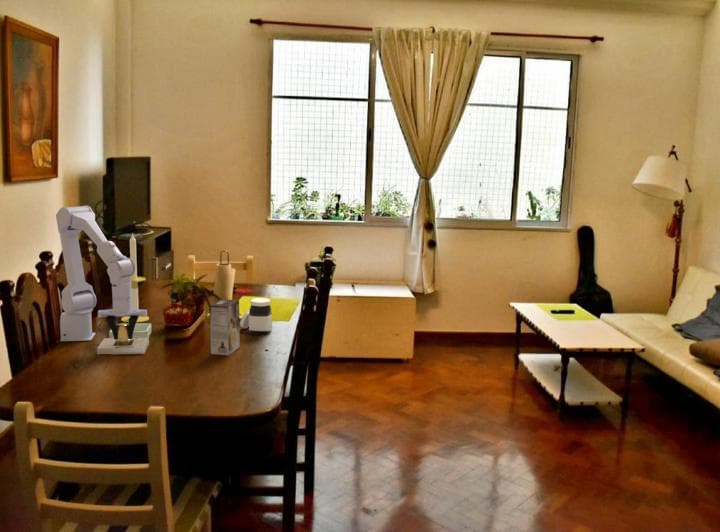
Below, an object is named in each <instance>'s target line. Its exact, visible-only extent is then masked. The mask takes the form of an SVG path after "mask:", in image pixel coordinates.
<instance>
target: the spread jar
mask: <svg viewBox="0 0 720 532" xmlns="http://www.w3.org/2000/svg"><path fill="white" fill-rule="evenodd" d="M272 312H273V310H272V306H271V299H269V298H266V297H265V298H264V297H256V298H252V299H251V300H250V307H249V310H247V311H245V313H243V315H242V317H241V319H240V321H239V327H241V328H243V329H244V330H246V328H247V329H248V331H249V333H251V334H252V335H256V334H258V336H260V335H261V336H262V335H263V334H264V335H268V334H270V333H271V331H272V324H273V323H272V316H273V315H272V314H273V313H272ZM248 327H249V328H248Z"/></svg>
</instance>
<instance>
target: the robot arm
mask: <svg viewBox="0 0 720 532" xmlns="http://www.w3.org/2000/svg"><path fill="white" fill-rule="evenodd" d="M55 219H56V225H57V231H58V234H59V238H60V244H61V250H62V257H63V261H64V268H65V274H66V281H67V285H66V286H65V287H64V288H63V290H62V291H61V301H60V305H61V307H62V308H61V309H63V311H64V312H61V314H60V318H59V327H60V342H80V341H81V342H83V341H84V342H89V341H92V340H93V338H94V337H95V336H96V332H93V323H92V322H93V320H92V312H93V310H94V308H95V307H96V305H97V296H96V294H95V292H94V288H93V285H91V284H90V283H88V282H86V278H85V277H86V276H85V273H84V265H83V260H82V252H81V247H80V242H79V241H80V240H79V234H80V233H81V232H82V231H83V232H84V233H85V234H86V235H87V236H88V237H89V239H90V240H91V241H92V242H93V243H94V244H95V245H96V247H97V248H96V253H97V254H98V255H99V257H100V258H101V259H102V261H103V262H104V265H106V267H107V268H106V273H107V275H108V276H109V282H110V284H111V293H112V294H111V295H112V308H110V309H99V310H98V311H97V318H106V320H105V321H106V323H107V324H108V326H109V328H110V330H112V333H113V336H114V340H117V329H116V325H117V324H118V318H123V317H130V318H129V319H128V321H129V323H128V324H129V339H132V338H133V332H134V328H135V325H136V324H137V323H136V322H137V320H138V318H139V317H142V316H143V317H146V316H148V311H147V310H148V309H139V308H138V309H132V292H131V276H132V275H133V274H134V272H135V266H134V263H133V261H132V260H131V259H130V257H127V256H126V255H123V254H122V253H121V251H120V249H119V248H118V247H117V246H116V243H115V242H114V241H111V240H107V238H106V236H105V235H104V233H103V232H102V229H101V228H100V226H99V225H98V223H97V221H96V214H95V213H94V211H93V210H92V207H91V206H89V205H82V206H71V207H69V206H68V207H65V206H64V207H63V206H62V207H60V208H59V209H58V211H57V213H55Z"/></svg>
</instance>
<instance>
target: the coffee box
mask: <svg viewBox="0 0 720 532" xmlns="http://www.w3.org/2000/svg"><path fill="white" fill-rule="evenodd" d="M209 309H210V313H209V314H210V317H209V318H210V320H209V322H210V354H211V355H221V356H230V355H231V354H233V353H234V352H235V351H236V350H238V349H239V348H240V342H241V341H240V337H241V335H240V299H238V300H237V299H227V298H226V299H225V298H224V299H223V298H220V299H218V300H217V301H216V302H214V303H212V304H210V305H209Z"/></svg>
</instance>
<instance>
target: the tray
mask: <svg viewBox="0 0 720 532" xmlns="http://www.w3.org/2000/svg"><path fill="white" fill-rule="evenodd" d="M152 329H153V326H152V323H136V325H135V328H134V332H133V338H149V339H150V336H151V334H152V333H153V332H152V331H153V330H152ZM108 338H114V336H113V333H112V330H111V329H109V331H108Z"/></svg>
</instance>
